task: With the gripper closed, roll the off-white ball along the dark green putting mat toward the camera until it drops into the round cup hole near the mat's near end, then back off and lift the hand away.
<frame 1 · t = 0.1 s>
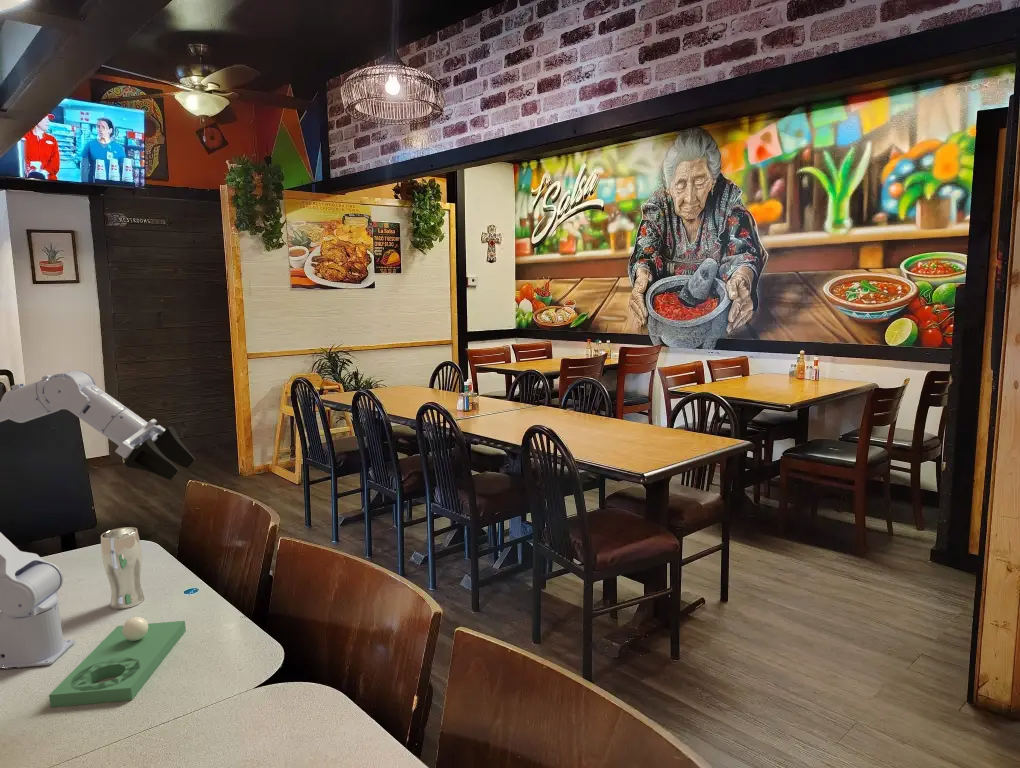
hand: (183, 469, 119), 32 cm above the table, tool tilted 50°, fingers open, 7 cm apart
beer glass: (128, 603, 141), on the table
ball: (135, 628, 121), point 4 cm above the table, touching putting mat
putting mat: (124, 665, 116), on the table
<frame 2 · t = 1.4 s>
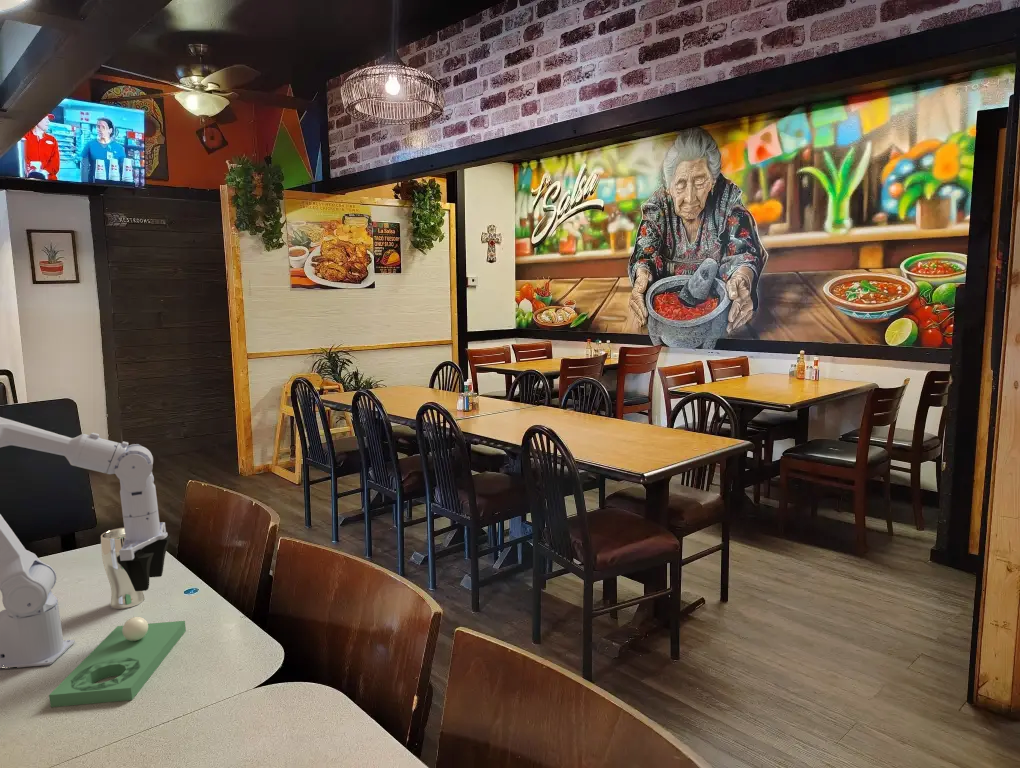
hand: (149, 583, 127), 9 cm above the table, tool pointing down, fingers open, 5 cm apart
nothing on the table moved.
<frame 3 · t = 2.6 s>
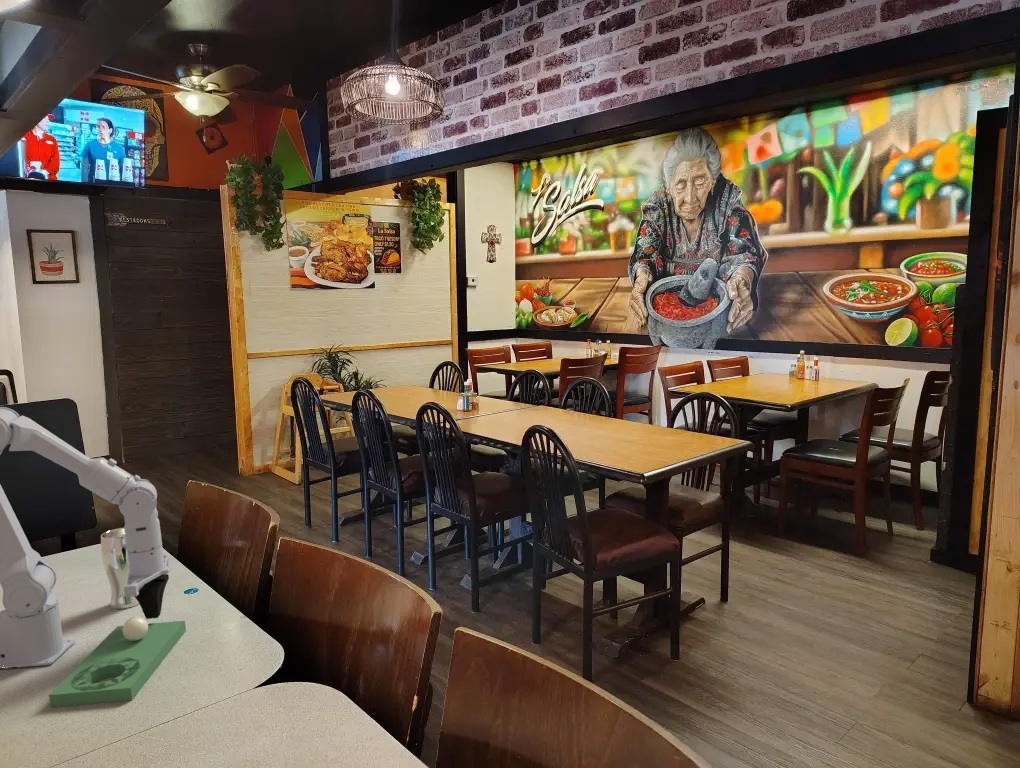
hand: (153, 616, 128), 3 cm above the table, tool pointing down, fingers closed
nothing on the table moved.
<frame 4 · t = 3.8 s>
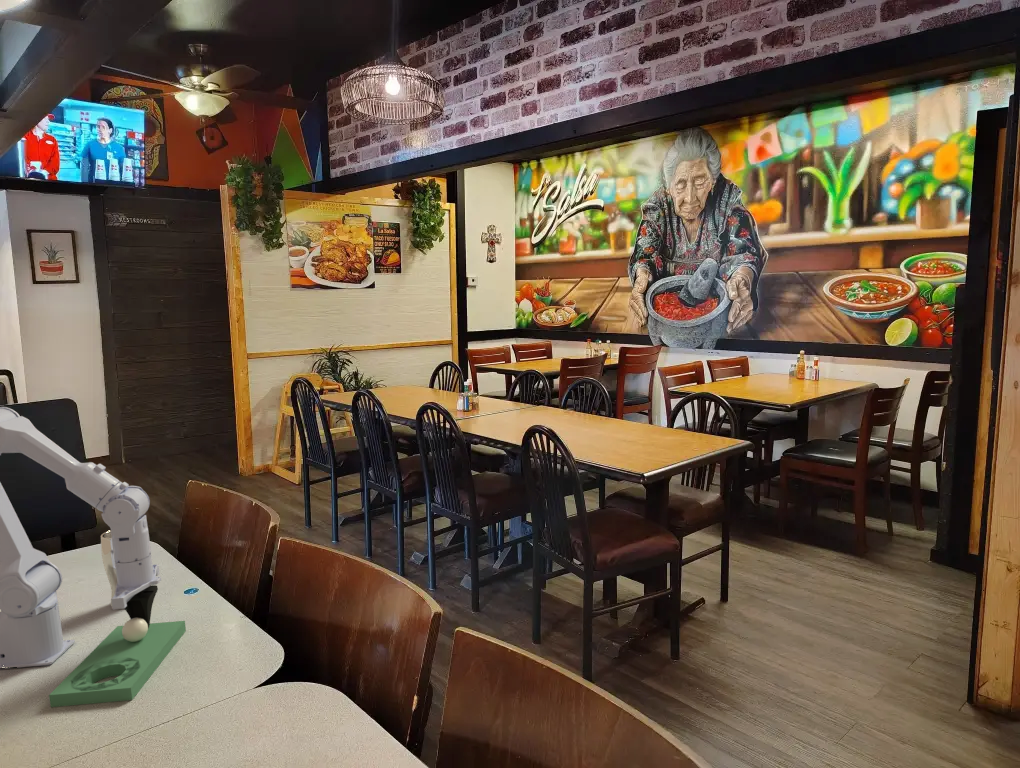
hand: (142, 629, 123), 3 cm above the table, tool pointing down, fingers closed, pressing on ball
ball: (135, 629, 120), point 4 cm above the table, tilted 7°, touching gripper, putting mat
everything else where it was.
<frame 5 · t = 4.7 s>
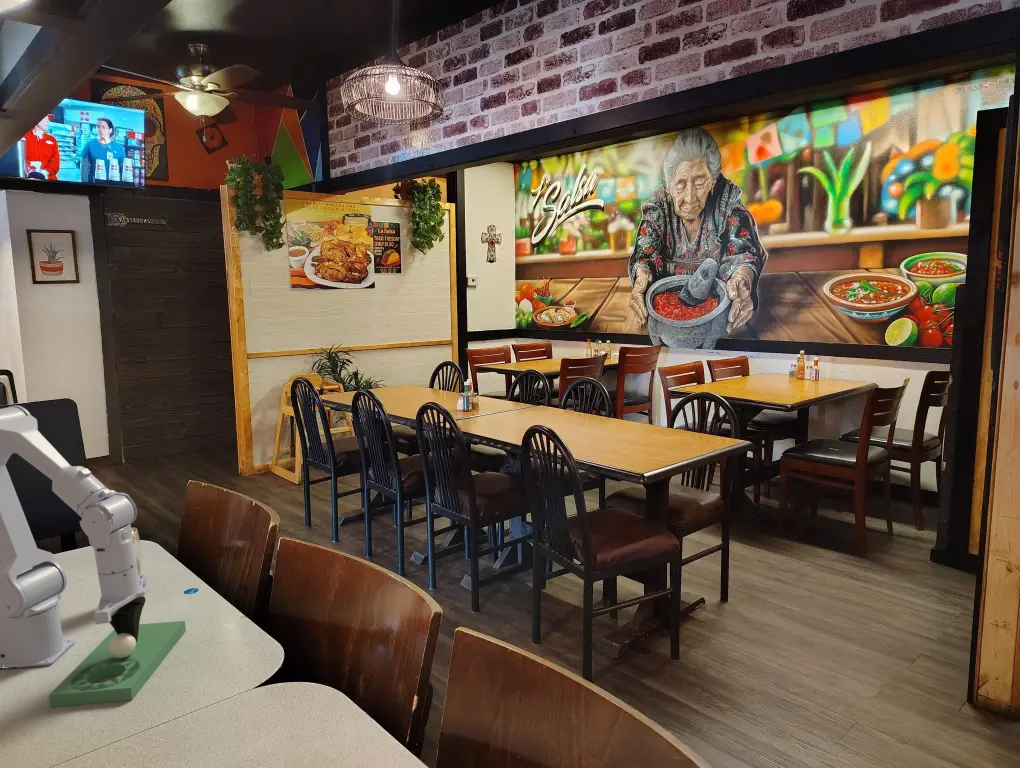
hand: (129, 643, 117), 3 cm above the table, tool pointing down, fingers closed, pressing on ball
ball: (122, 645, 115), point 4 cm above the table, tilted 164°, touching gripper, putting mat
everything else where it was.
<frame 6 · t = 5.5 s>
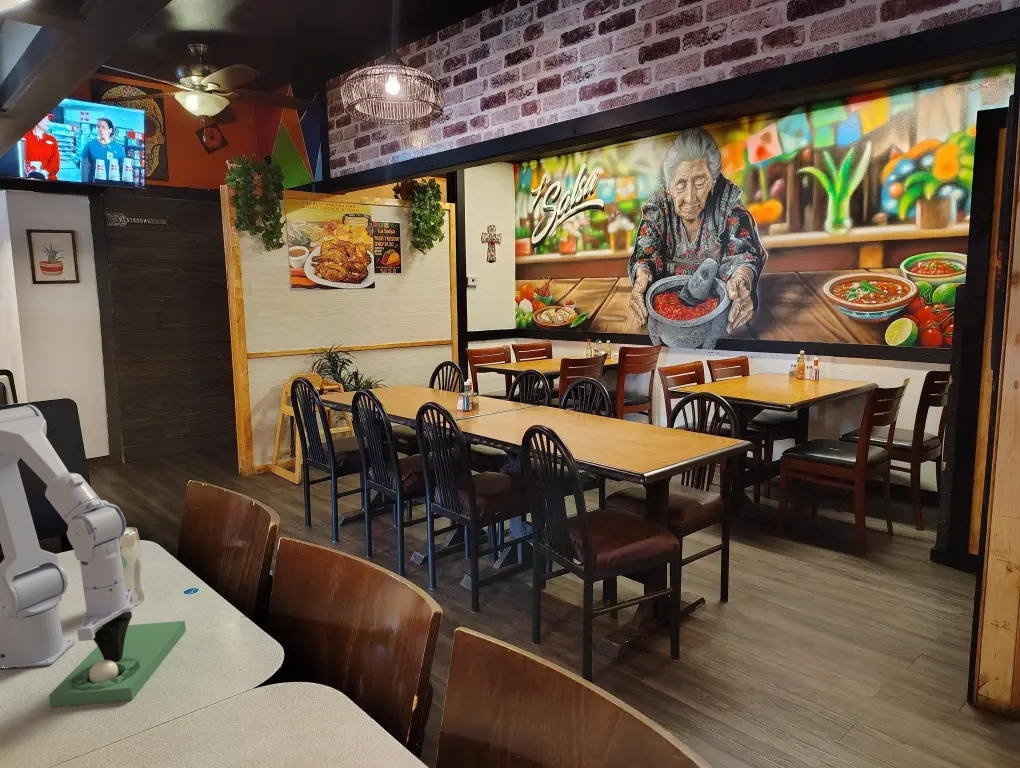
hand: (113, 660, 113), 3 cm above the table, tool pointing down, fingers closed
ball: (103, 673, 110), point 2 cm above the table, tilted 102°, touching gripper
everything else where it was.
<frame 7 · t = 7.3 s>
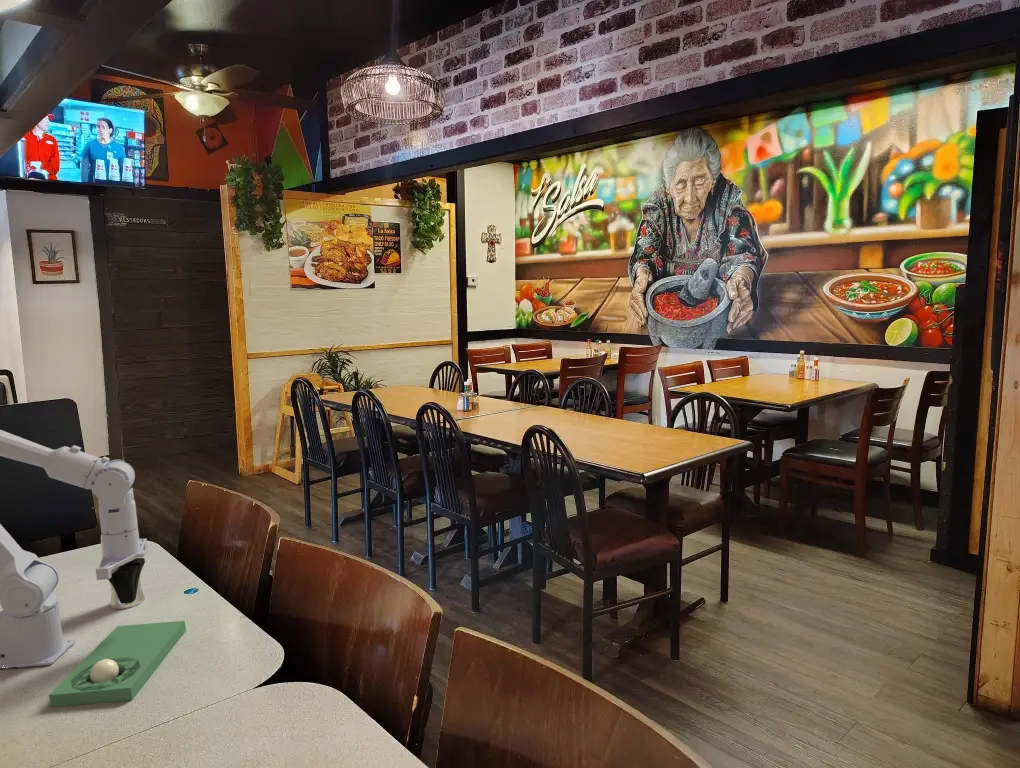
hand: (128, 601, 124), 7 cm above the table, tool pointing down, fingers closed
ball: (104, 672, 110), point 2 cm above the table, tilted 105°
everything else where it was.
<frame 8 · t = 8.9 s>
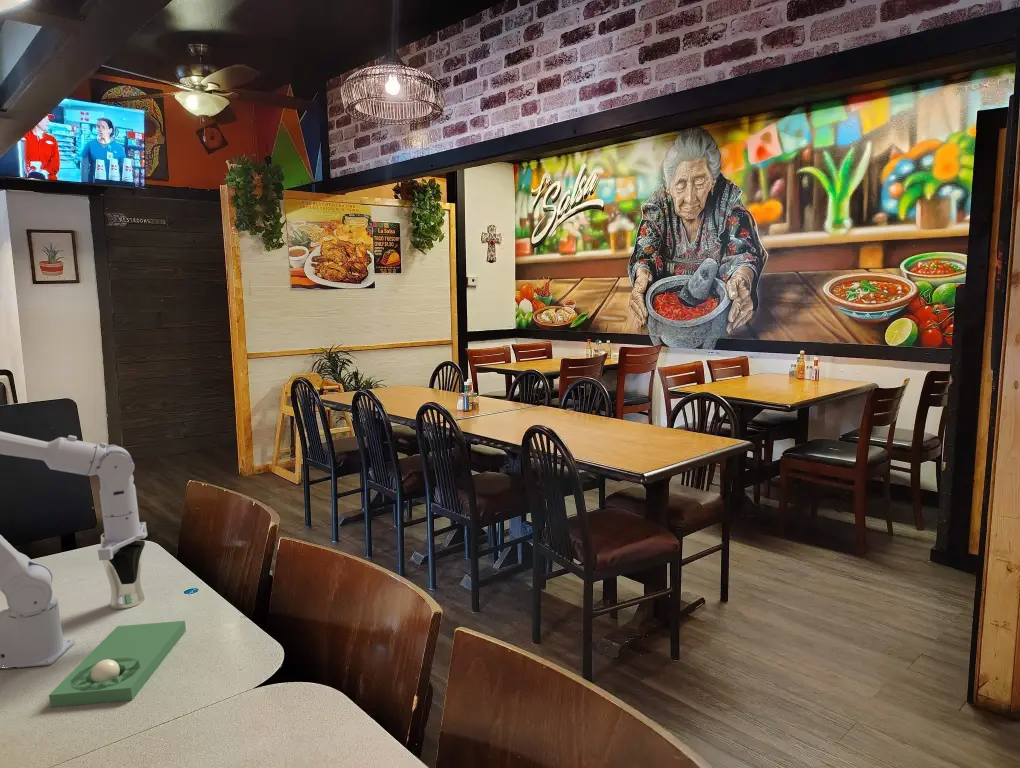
hand: (129, 582, 127), 9 cm above the table, tool pointing down, fingers closed
nothing on the table moved.
at the end: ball 0.4 cm from the target spot on the putting mat, point 2.0 cm above the putting mat's base; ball touching table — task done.
